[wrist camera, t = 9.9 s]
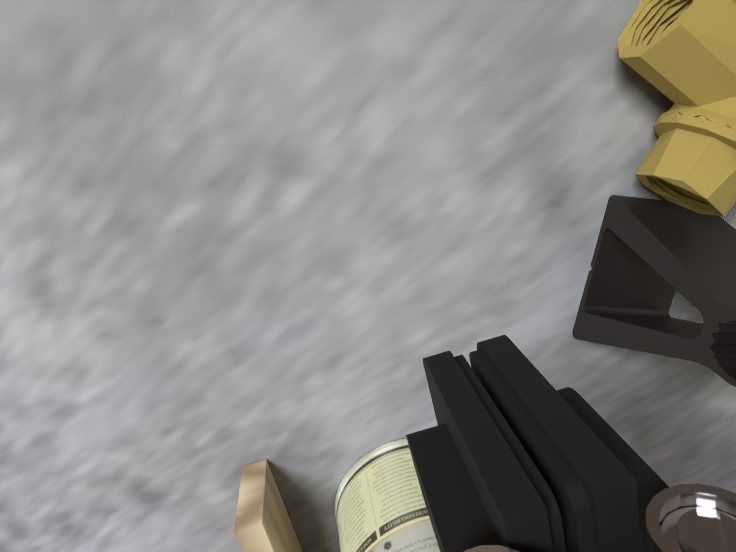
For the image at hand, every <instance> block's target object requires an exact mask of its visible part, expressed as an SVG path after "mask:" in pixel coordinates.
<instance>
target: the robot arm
mask: <svg viewBox="0 0 736 552" xmlns="http://www.w3.org/2000/svg"><path fill="white" fill-rule="evenodd" d="M469 357H470V363H471V367H470V365H469V364H468V362H467V361H466V359H465V358H464V356H463V355H460V356H456V357H454V356H453V354H452V353H451V352H450V351H447V352H443V353H440V354H437V355H433V356H430V357H426V358H423V364H424V369H425V373H426V377H427V381H428V385H429V389H430V394H431V398H432V402H433V406H434V410H435V415H436V419H437V423H438V426H435V427H432V428H428V429H425V430H422V431H418V432H415V433H412V434H408V435H406V437H407V441H408V445H409V449H410V452H411V456H412V460H413V463H414V467H415V471H416V474H417V478H418V481H419V485H420V488H421V492H422V495H423V498H424V502H425V505H426V508H427V511H428V515H429V518H430V521H431V524H432V527H433V531H434V534H435V537H436V540H437V543H438V546H439V550H440V552H736V493H733V492H730V491H728V490H725V489H722V488H719V487H714V486H708V485H702V484H679V485H676V486H672V487H669V486H668V485H667V484H666V483H665V482H664V481H663V480H662V479H661V478H660V477H659V476H658V475H657V474H656V473H655V472H654V471H653V470H652V469H651V468H650V467H649V466H648V465H647V464H646V463H645V462H644V461H643V460H642V459H641V458H640V457H639V456H638V454H637V453H636V452H635V451H634V450H633V449H632V448H631V447H630V446H629V445H628V444H627V443H626V442H625V441H624V440H623V439H622V438H621V437H620V436H619V435H618V434H617V433H616V432H615V431H614V430H613V429H612V428H611V427H610V426H609V425H608V424H607V423H606V422H605V420H604V419H603V418H602V417H601V416H600V415H599V414H598V413H597V412H596V411H595V410H594V409H593V408H592V407H591V406H590V405H589V404H588V403H587V402H586V401H585V400H584V399H583V398H582V397H581V396H580V395H579V394H578V393H577V392H576V391H575V390H573V389H572V388H569V387H567V388H563V389H560V390H557V391H556V390H555V389H554V388H553V387H552V386H551V384H550V383H549V382H548V381H547V380H546V379H545V378H544V377H543V376H542V374H541V373H540V372H539V371H538V370H537V369H536V368H535V367H534V366H533V364H532V363H531V362H530V361H529V360H528V359H527V358H526V357H525V356H524V355H523V353H522V352H521V351H520V350H519V349H518V348H517V347H516V346H515V345H514V343H513V342H512V341H511V340H510V339H509V338H508V337H507V336H506V335H502V336H499V337H495V338H492V339H488V340H485V341H481V342H478V343H477V351H473V352H470V354H469Z"/></svg>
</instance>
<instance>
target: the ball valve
mask: <svg viewBox="0 0 736 552" xmlns="http://www.w3.org/2000/svg"><path fill="white" fill-rule="evenodd" d="M617 42H618V50H619V58H620V59H621V60H622V61H624V62H625V63H626V64H627V65H629V66H630V67H631V68H632V69H633V70H635V71H636V72H637V73H638V74H640V75H641V76H642V77H643V78H644V79H646V80H647V81H648V82H649V83H651V84H652V85H653V86H654V87H655V88H657V89H658V90H659V91H660V92H662V93H663V94H664V95H665V96H666V97H668V98H669V99H670V100H671V101H673V102H674V104H673V105H672V107H671V108H670V109H669V110H668V111H667V112H665V113H663V114H662V115H661V116H660V117H659V118H658V119H657V121H656V123H655V125H654V127H653V128H654V130H655V132H656V134H657V136H658V137H659V139H658V140H657V142H656V143H655V145H654V146H653V148H652V149H651V151H650V152H649V154H648V155H647V157H646V158H645V160H644V162H643V163H642V165H641V166H640V168H639V169H638V171H637V172H636V174H635V175H636V176H637V178H638V179H639V181H640V182H641V183H642V185H643V186H645V187H647V188H648V189H650V190H651V191H653V192H655V193H656V194H658V195H659V196H661V197H663V198H664V199H666V200H668V201H670V202H673V203H675V204H677V205H680V206H682V207H685V208H687V209H689V210H692V211H694V212H697V213H699V214H707V215H716V216H725V215H726V214H727V212H728V211H729V210H730V209H731V207H732V206H733V205H734V203H735V202H736V0H642V1H641V3H640V4H639V6H638V8H637V9H636V11H635V12H634V14H633V16H632V17H631V19H630V20H629V22H628V24H627V25H626V27H625V28H624V30H623V32H622V33H621V35H620V37H619V38H618V40H617Z"/></svg>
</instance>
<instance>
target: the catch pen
mask: <svg viewBox="0 0 736 552" xmlns="http://www.w3.org/2000/svg"><path fill="white" fill-rule="evenodd" d="M234 533H235V535H236V538H237V540H238V542H239V544H240V546H241V548H242V551H243V552H303V551H302V548H301V546H300V543H299V541H298V538H297V536H296V533H295V531H294V528H293V526H292V523H291V520H290V518H289V515H288V513H287V510H286V508H285V505H284V503H283V500H282V498H281V495H280V493H279V490H278V487H277V485H276V482H275V480H274V477H273V475H272V472H271V470H270V467H269V465H268V462H267V460H266V459H265V460H262V461H259V462H255V463H252V464H249V465H245V466H243V469H242V476H241V484H240V491H239V499H238V507H237V514H236V522H235V529H234Z"/></svg>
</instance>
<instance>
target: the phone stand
mask: <svg viewBox="0 0 736 552" xmlns="http://www.w3.org/2000/svg"><path fill="white" fill-rule="evenodd" d="M591 266H592V270H591V271H589V273H588V277H587V281H586V284H585V288H584V292H583V295H582V299H581V303H580V306H579V310H578V314H577V317H576V321H575V325H574V328H573V336H574V338H576V339H581V340H586V341H591V342H596V343H601V344H607V345H612V346H617V347H622V348H628V349H633V350H638V351H643V352H648V353H654V354H659V355H664V356H669V357H674V358H680V359H685V360H690V361H694V362H697V363H700V364H702V365H705V366H706V367H708V368H710V369H711V370H713V371H714V372H716V373H717V374H718V375H719V376H721V377H722V378H723V379H724V380H725V381H726V382H728V383H729V384H731V385H733V386H735V387H736V229H734V228H733V227H732V226H731V225H729V224H728V223H727V222H726V221H724V220H723V219H722V218H721V217H719V216H716V215H707V214H699V213H697V212H694V211H692V210H689V209H687V208H685V207H682V206H680V205H677V204H675V203H673V202H670V201H665V200H655V199H645V198H636V197H626V196H616V195H612V196H611V197H610V198H609V200H608V204H607V208H606V211H605V215H604V219H603V222H602V226H601V229H600V233H599V237H598V240H597V244H596V248H595V251H594V255H593V259H592V262H591ZM675 290H677V291H679V292H680V293H681V294H682V295H683V296H684V297H685V298H686V299H687V300H688V301H690V302H691V303H692V304H693V305H694V306H695V307H696V308H697V309H698V310H699V311H700V312H701V314H702V316H703V320H704V324H699V323H695V322H690V321H685V320H680V319H675V318H671V317H670V316H669V313H668V311H669V307H670V305H671V302H672V299H673V296H674V293H675Z"/></svg>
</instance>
